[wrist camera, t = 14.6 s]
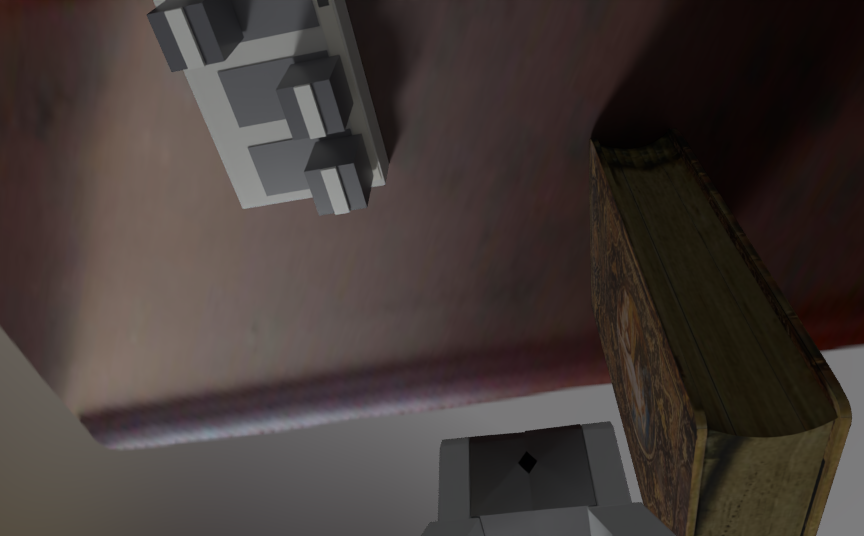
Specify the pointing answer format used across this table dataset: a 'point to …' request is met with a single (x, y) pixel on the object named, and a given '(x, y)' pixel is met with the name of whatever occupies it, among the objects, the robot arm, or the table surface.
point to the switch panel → (259, 104)
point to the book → (706, 354)
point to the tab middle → (315, 98)
